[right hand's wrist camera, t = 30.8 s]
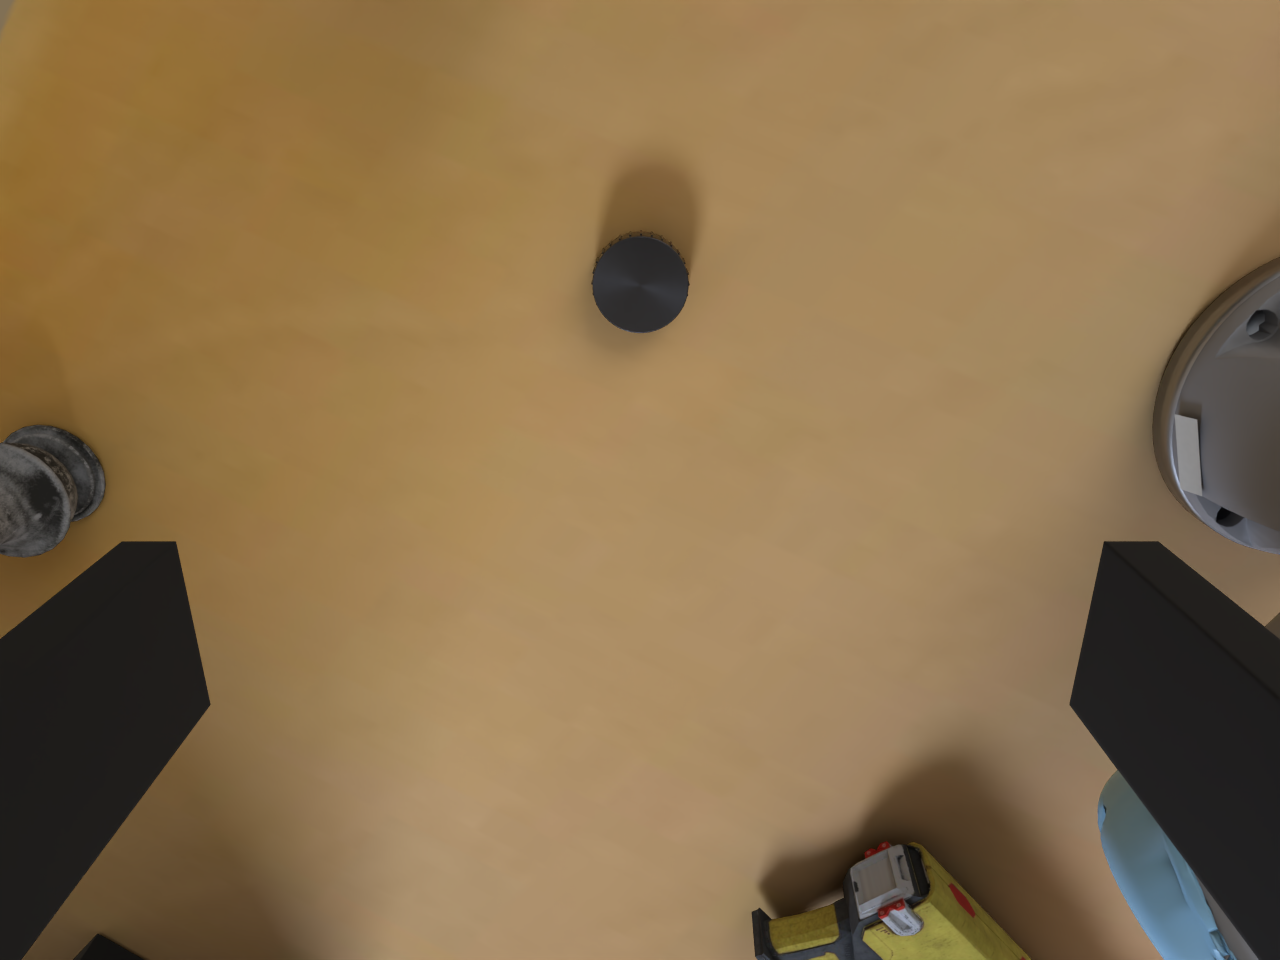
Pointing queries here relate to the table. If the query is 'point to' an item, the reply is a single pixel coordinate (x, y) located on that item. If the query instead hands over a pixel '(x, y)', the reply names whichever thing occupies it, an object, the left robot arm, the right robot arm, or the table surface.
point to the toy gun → (889, 917)
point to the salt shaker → (44, 488)
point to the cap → (640, 282)
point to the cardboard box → (104, 951)
